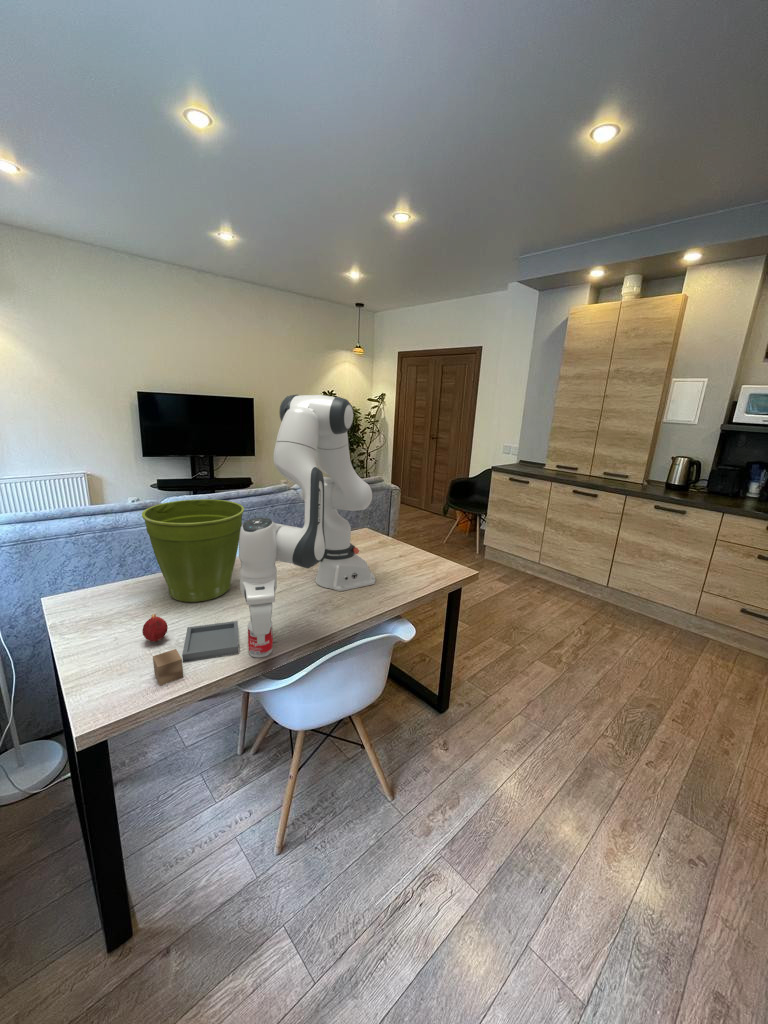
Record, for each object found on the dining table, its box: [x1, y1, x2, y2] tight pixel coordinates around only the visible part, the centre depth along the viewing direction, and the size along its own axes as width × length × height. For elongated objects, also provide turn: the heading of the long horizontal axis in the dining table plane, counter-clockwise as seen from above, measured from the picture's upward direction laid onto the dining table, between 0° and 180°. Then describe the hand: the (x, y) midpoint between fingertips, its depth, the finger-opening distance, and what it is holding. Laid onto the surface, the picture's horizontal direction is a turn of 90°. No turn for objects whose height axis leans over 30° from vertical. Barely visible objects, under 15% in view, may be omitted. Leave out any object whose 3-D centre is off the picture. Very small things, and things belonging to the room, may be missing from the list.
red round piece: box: [141, 613, 169, 643], centre depth 105 cm, size 6×6×8 cm
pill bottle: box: [247, 615, 274, 659], centre depth 102 cm, size 6×6×11 cm
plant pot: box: [141, 498, 245, 603], centre depth 131 cm, size 30×30×29 cm
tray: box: [181, 620, 239, 663], centre depth 106 cm, size 13×13×2 cm
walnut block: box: [152, 648, 184, 687], centre depth 92 cm, size 5×5×5 cm
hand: (259, 632), depth 102 cm, fingers open, 8 cm apart
